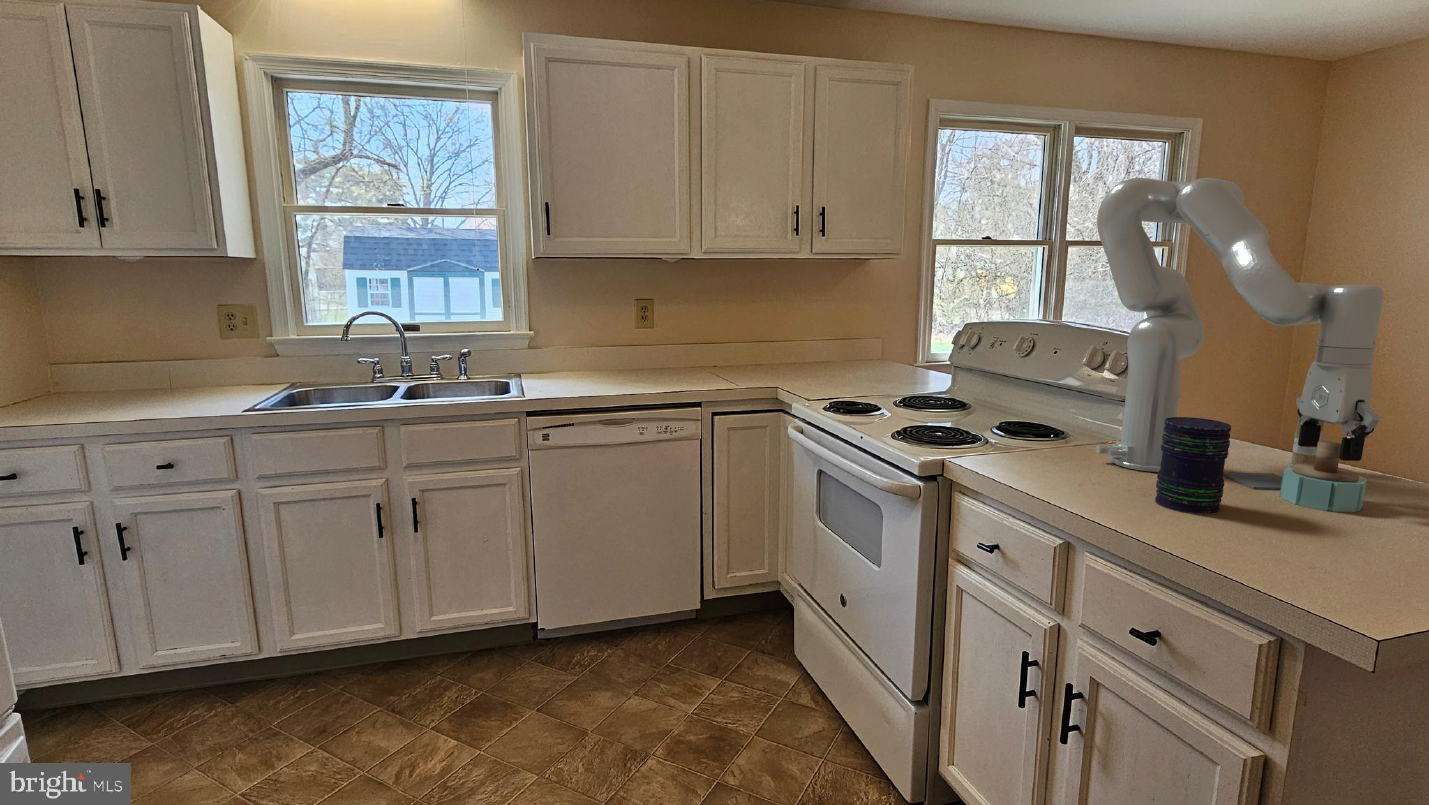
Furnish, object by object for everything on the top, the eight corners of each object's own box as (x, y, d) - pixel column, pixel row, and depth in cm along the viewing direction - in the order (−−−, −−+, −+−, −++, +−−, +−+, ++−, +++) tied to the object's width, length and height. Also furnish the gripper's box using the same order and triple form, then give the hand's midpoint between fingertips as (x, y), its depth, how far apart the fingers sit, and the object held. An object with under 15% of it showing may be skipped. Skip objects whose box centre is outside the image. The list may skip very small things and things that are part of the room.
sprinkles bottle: (1292, 464, 153) (1302, 402, 150) (1320, 468, 149) (1330, 405, 147) (1286, 467, 150) (1296, 405, 148) (1314, 472, 147) (1324, 408, 144)
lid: (1316, 481, 123) (1321, 448, 122) (1280, 467, 132) (1284, 436, 131) (1372, 482, 123) (1378, 450, 121) (1332, 468, 131) (1337, 437, 130)
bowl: (1310, 511, 123) (1314, 483, 122) (1266, 491, 134) (1270, 465, 133) (1378, 512, 122) (1383, 484, 121) (1329, 493, 133) (1333, 467, 132)
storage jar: (1142, 502, 128) (1152, 420, 125) (1172, 493, 133) (1182, 414, 130) (1202, 518, 120) (1214, 431, 117) (1232, 508, 124) (1244, 425, 122)
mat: (1253, 489, 136) (1253, 486, 136) (1220, 474, 145) (1221, 472, 145) (1309, 490, 135) (1309, 488, 135) (1272, 475, 145) (1272, 473, 145)
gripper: (1285, 351, 132) (1272, 441, 135) (1360, 363, 115) (1343, 465, 118) (1328, 351, 132) (1314, 442, 135) (1410, 363, 115) (1392, 466, 118)
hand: (1328, 453), depth 127 cm, fingers open, 9 cm apart
